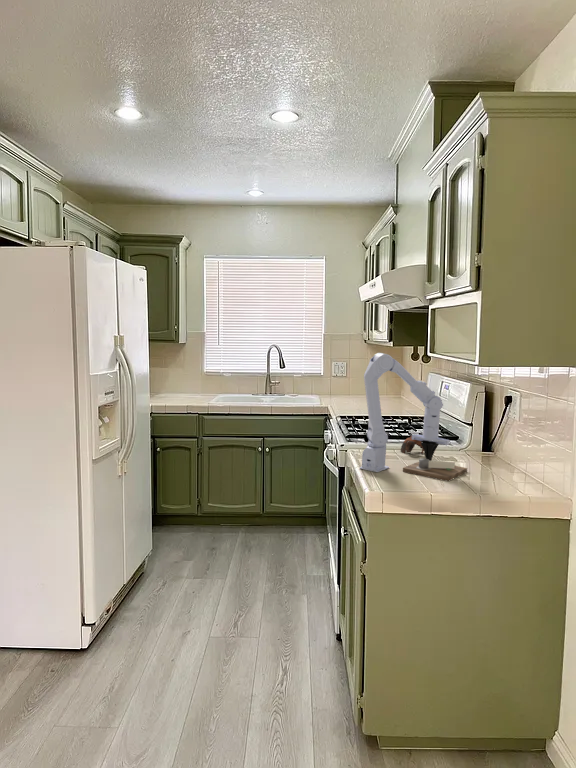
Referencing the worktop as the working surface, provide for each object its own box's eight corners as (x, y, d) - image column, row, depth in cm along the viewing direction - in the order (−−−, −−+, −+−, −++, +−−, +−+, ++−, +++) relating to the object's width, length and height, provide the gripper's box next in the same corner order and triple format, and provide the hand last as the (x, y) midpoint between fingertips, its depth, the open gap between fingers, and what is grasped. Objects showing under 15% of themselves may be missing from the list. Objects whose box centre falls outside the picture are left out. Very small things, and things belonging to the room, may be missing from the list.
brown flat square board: (448, 481, 204) (448, 476, 204) (402, 471, 215) (402, 467, 215) (467, 471, 218) (467, 467, 218) (423, 463, 229) (423, 459, 229)
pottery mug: (400, 450, 255) (410, 434, 254) (418, 462, 251) (428, 446, 250) (395, 448, 243) (406, 432, 243) (414, 460, 240) (425, 444, 239)
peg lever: (420, 468, 213) (420, 460, 213) (417, 465, 217) (418, 458, 216) (455, 469, 213) (455, 461, 213) (452, 466, 217) (452, 458, 217)
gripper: (453, 427, 217) (450, 462, 218) (418, 422, 226) (416, 455, 227) (446, 429, 211) (443, 465, 213) (410, 424, 220) (407, 458, 222)
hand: (428, 460), depth 219 cm, fingers closed
